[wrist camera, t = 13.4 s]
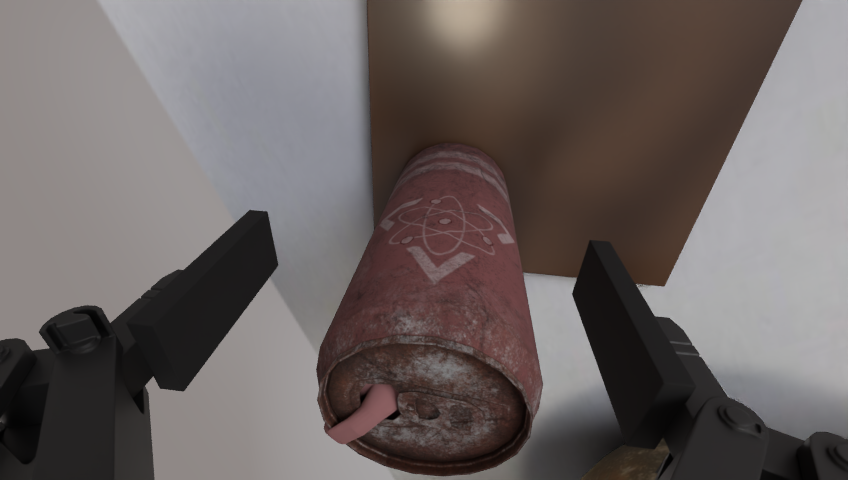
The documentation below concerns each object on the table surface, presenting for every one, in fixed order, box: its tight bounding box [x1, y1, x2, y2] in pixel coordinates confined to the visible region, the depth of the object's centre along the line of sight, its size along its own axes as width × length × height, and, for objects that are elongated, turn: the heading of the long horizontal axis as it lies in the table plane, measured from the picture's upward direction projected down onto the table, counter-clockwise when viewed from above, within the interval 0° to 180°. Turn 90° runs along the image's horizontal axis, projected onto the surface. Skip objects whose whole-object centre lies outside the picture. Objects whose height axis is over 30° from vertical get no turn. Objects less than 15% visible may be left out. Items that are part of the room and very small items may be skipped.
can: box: [316, 143, 543, 476], centre depth 15 cm, size 6×6×14 cm
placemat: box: [367, 0, 802, 286], centre depth 18 cm, size 18×20×1 cm
